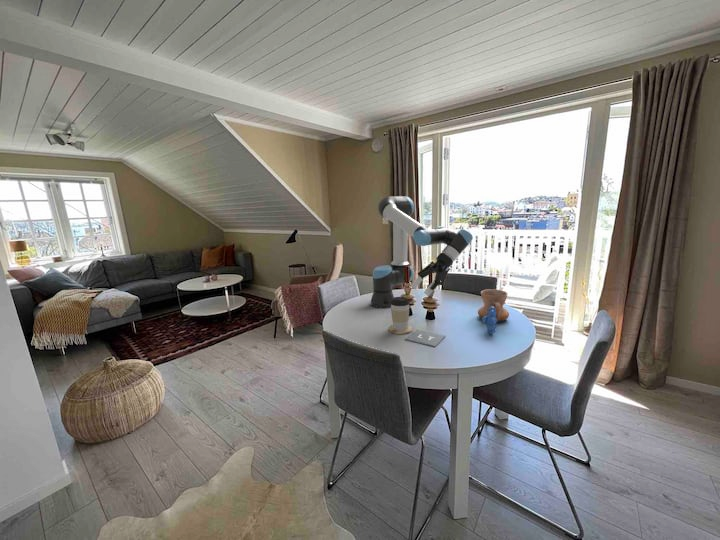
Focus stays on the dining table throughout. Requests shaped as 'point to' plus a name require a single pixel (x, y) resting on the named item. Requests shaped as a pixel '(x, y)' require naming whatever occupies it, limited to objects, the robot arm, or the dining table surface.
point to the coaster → (400, 331)
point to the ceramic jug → (494, 303)
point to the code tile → (425, 338)
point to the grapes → (490, 320)
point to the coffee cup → (400, 313)
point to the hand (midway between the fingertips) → (418, 290)
